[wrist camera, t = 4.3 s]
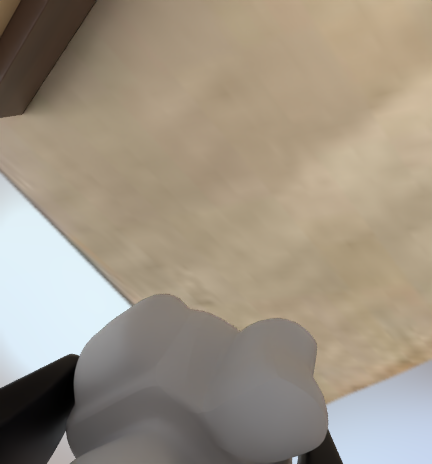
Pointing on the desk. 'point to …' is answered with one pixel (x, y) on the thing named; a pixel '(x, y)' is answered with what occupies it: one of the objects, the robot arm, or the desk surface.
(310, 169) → the desk surface
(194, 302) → the desk surface
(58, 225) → the desk surface
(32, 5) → the memo paper holder
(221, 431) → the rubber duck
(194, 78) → the desk surface
